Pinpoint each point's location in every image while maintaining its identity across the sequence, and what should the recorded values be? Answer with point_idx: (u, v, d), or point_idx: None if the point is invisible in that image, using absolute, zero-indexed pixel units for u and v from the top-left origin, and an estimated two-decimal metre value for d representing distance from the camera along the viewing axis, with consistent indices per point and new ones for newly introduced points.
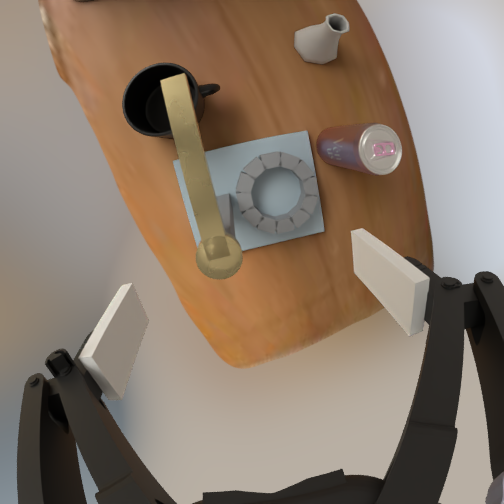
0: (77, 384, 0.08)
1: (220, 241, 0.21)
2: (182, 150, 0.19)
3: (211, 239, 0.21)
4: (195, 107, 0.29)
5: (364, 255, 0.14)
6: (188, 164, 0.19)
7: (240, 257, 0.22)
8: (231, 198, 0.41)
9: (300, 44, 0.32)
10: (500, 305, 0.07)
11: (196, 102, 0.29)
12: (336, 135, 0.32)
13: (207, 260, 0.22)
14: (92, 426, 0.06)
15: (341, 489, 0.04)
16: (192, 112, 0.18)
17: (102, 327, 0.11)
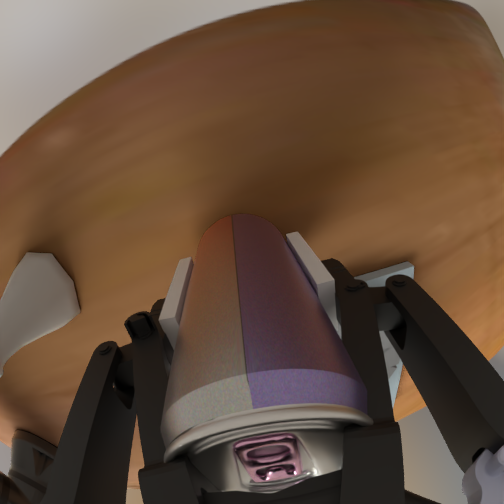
0: (154, 350, 0.09)
1: None
2: None
3: None
4: None
5: None
6: None
7: None
8: None
9: (55, 329, 0.19)
10: (420, 307, 0.08)
11: None
12: None
13: None
14: (159, 398, 0.07)
15: (341, 489, 0.04)
16: None
17: (175, 293, 0.13)
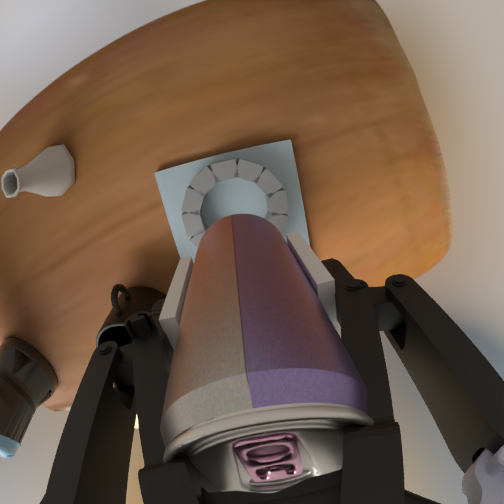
0: (154, 350, 0.09)
1: None
2: None
3: None
4: None
5: None
6: None
7: None
8: None
9: (56, 193, 0.29)
10: (420, 307, 0.08)
11: None
12: None
13: None
14: (159, 398, 0.07)
15: None
16: None
17: (175, 293, 0.13)
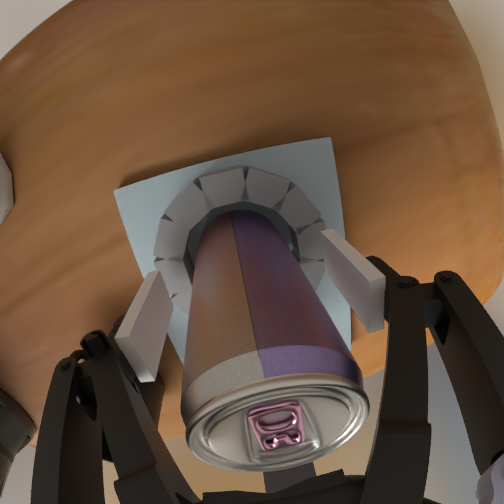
0: (111, 367, 0.09)
1: None
2: None
3: None
4: None
5: (331, 254, 0.15)
6: None
7: None
8: None
9: None
10: (464, 303, 0.08)
11: None
12: None
13: None
14: (121, 411, 0.07)
15: (341, 489, 0.04)
16: None
17: (135, 309, 0.12)
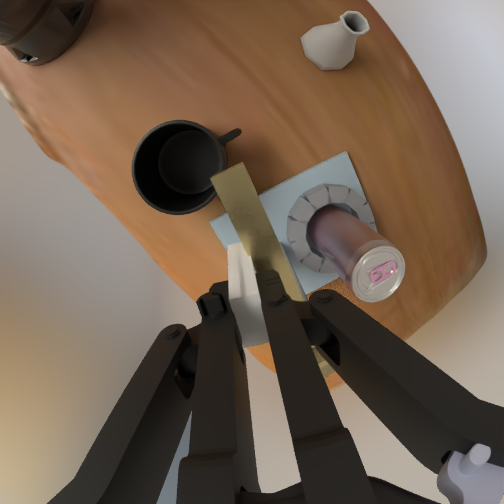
0: (224, 333, 0.10)
1: None
2: (262, 270, 0.16)
3: None
4: (224, 168, 0.26)
5: None
6: None
7: None
8: (284, 246, 0.38)
9: (312, 52, 0.28)
10: (351, 321, 0.09)
11: (224, 162, 0.26)
12: (327, 244, 0.29)
13: None
14: (220, 385, 0.07)
15: None
16: (267, 219, 0.15)
17: (237, 274, 0.14)
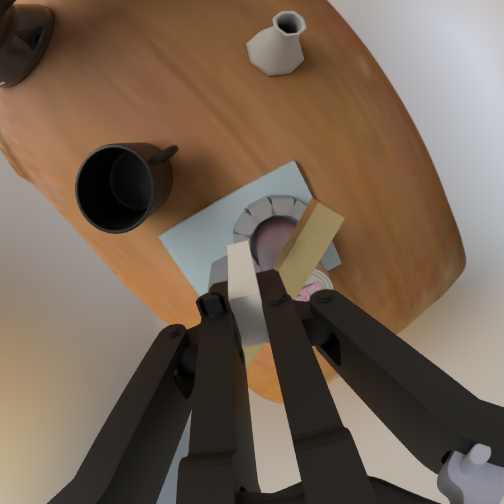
0: (223, 333, 0.10)
1: None
2: None
3: None
4: (154, 189, 0.26)
5: None
6: None
7: None
8: None
9: (256, 58, 0.28)
10: (351, 321, 0.09)
11: (153, 183, 0.26)
12: (260, 260, 0.29)
13: None
14: (220, 385, 0.07)
15: None
16: (314, 266, 0.16)
17: (237, 274, 0.14)
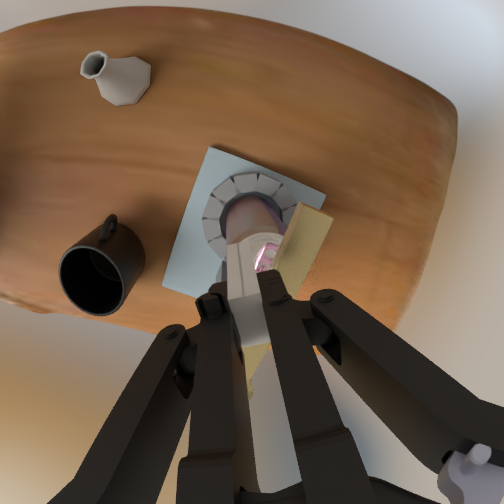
0: (222, 333, 0.10)
1: None
2: None
3: None
4: (113, 261, 0.28)
5: None
6: None
7: None
8: None
9: (114, 100, 0.28)
10: (352, 321, 0.09)
11: (108, 257, 0.28)
12: None
13: None
14: (219, 385, 0.07)
15: None
16: (308, 269, 0.15)
17: (236, 274, 0.14)
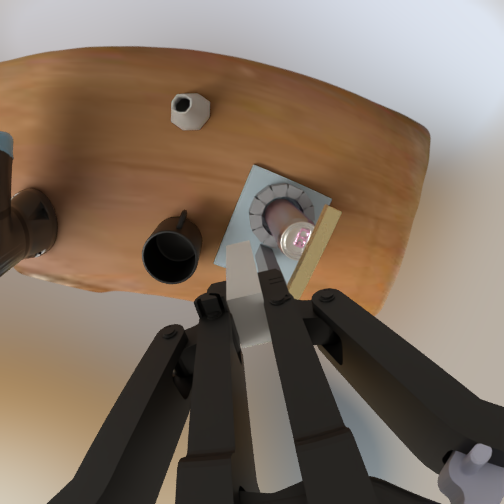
0: (221, 333, 0.10)
1: None
2: (310, 252, 0.32)
3: None
4: (190, 241, 0.44)
5: None
6: (307, 261, 0.32)
7: None
8: (264, 245, 0.54)
9: (184, 126, 0.44)
10: (353, 320, 0.09)
11: (187, 239, 0.44)
12: None
13: None
14: (218, 385, 0.07)
15: None
16: (329, 236, 0.31)
17: (235, 275, 0.14)
